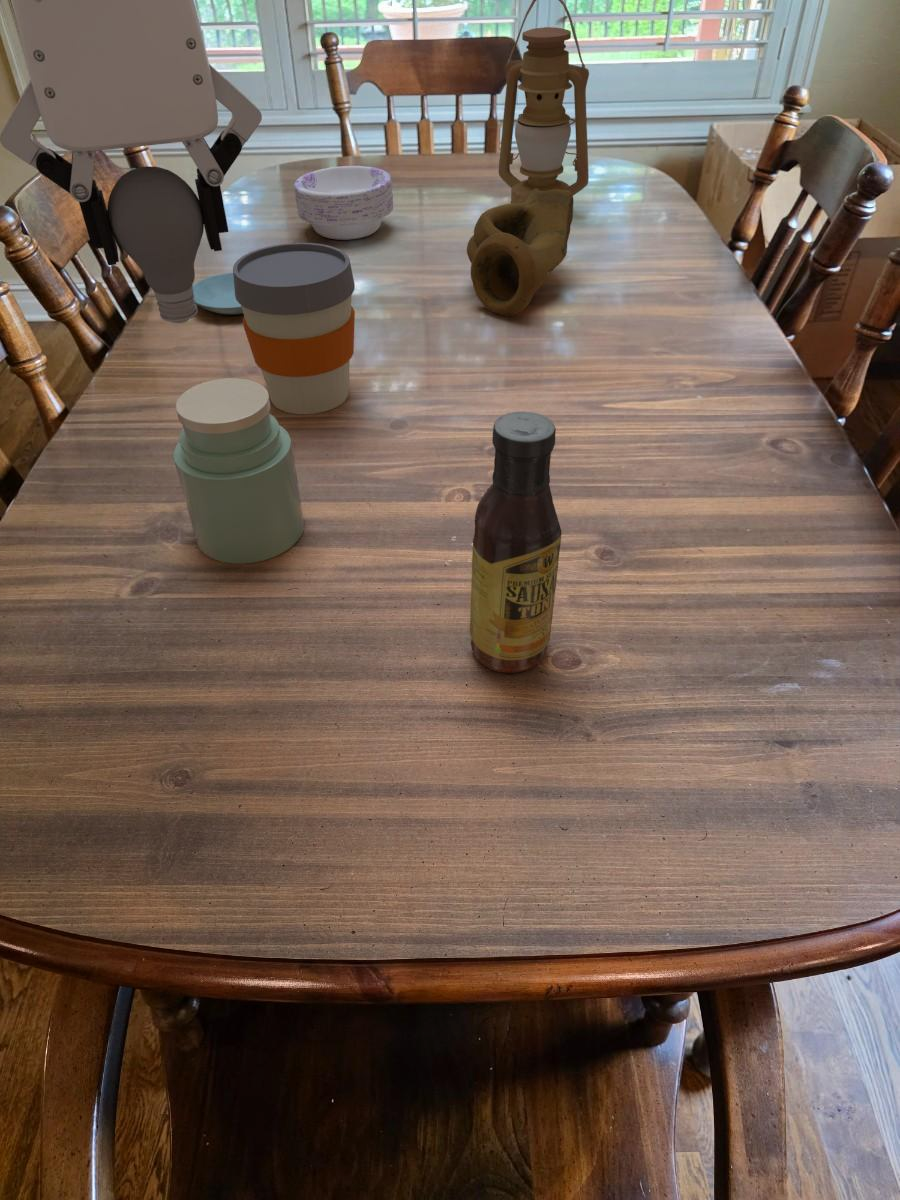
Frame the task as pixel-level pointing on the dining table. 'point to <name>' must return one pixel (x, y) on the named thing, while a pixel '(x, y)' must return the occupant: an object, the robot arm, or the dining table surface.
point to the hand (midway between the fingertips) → (163, 248)
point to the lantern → (544, 113)
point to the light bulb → (160, 234)
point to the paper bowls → (344, 200)
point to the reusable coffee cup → (299, 322)
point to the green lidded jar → (237, 472)
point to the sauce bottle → (515, 548)
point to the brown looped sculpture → (519, 248)
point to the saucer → (217, 294)
